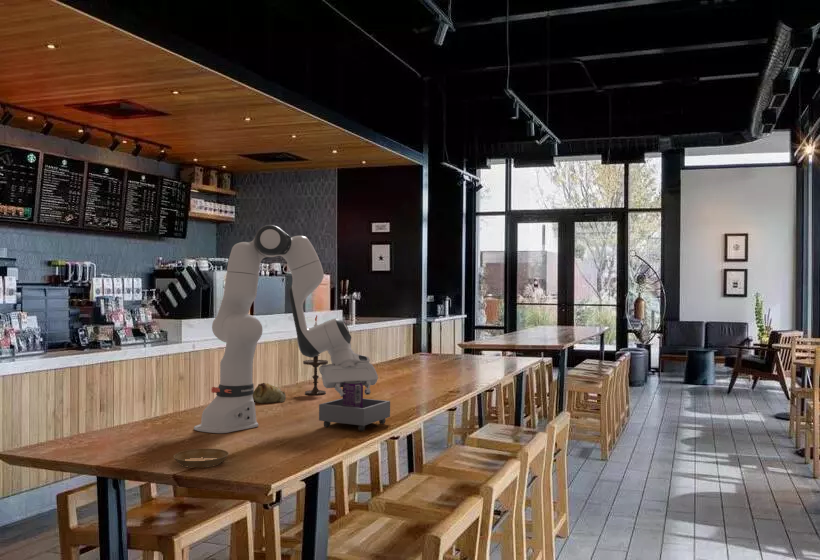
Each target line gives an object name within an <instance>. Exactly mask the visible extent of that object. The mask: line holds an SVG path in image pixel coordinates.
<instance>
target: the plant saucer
mask: <svg viewBox="0 0 820 560" xmlns="http://www.w3.org/2000/svg"><path fill="white" fill-rule="evenodd" d="M228 456H229V451H227V450H224V449H222V448H221V449H220V448H209V447H208V448H194V449H186V450H182V451H179V452H177V453H175V454H174V455H173V458H174V460H175V461H176V462H177V463H178V464H179V465H180V464H181V465H180V466H182V465H183V466H182V467H184V466H188V467H187V468H189V467H205V468H208V467H207V466H212V467H214V466H213V465H216V466H218V465H221V462H222V463H223V461H225V460H226V459H227V457H228ZM201 457H203V459H204V458H217V459H213V460H205V461H185V459H190V458H201ZM217 464H218V465H217Z"/></svg>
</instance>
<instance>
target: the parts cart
mask: <svg viewBox="0 0 820 560" xmlns="http://www.w3.org/2000/svg"><path fill="white" fill-rule="evenodd" d="M388 418H391V400H383V399H372V398H363V408H356V407H346V406H343V397H340V398H338V399H335V400H330V401H327V402H322V403H319V404H318V421H321V422H323V427H324V428H330V426H331V423H336V424H337V423H338V424H343V425H345V424H347V425H354V426H358V429H357V430H358V432H364V431H365V430H366V426H367V425H370V424H373V423H376V422H379V424H380V425H385V424H386V419H388Z"/></svg>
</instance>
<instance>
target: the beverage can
mask: <svg viewBox="0 0 820 560" xmlns="http://www.w3.org/2000/svg"><path fill="white" fill-rule="evenodd" d="M342 390H344V392H345V396H344V397H342V398H343V406H346V407H356V408H363V399H364V386H362V381H355V382H344V385H343V387H342Z"/></svg>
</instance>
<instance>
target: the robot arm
mask: <svg viewBox="0 0 820 560" xmlns="http://www.w3.org/2000/svg"><path fill="white" fill-rule="evenodd" d="M276 257H282V258H283V259H284V260H285V262H286V263H287V266H288V268H289V271H290V274H291V276H292V282H291V286H290V287H289V288H288V296H289V302H290V308H291V312H292V317H293V323H294V326H295V331H296V341H297V348H298V350H299V351H300V353H301V355H303V356H305V357H308V358H312V359H313V357H315V356H317V355H321V353H324V352H326V351H327V352H328V354H329V356H330V362H331V363H328V364H324V365H320V366H319V367H318V370H319V374H321V380H322V381H321V382H322V386H323V387H324V388H325V389H334V390H335V391H336V392H337V393H338V394H339V396H340V398H343V397H344V396H345V392H344V390H343V385H344V382H355V381H362V386H363V387H365V388H364V390H363V393H364V395H367V396H368V395H371V389H370V388H371V386H375V385H376V384H377V382H378V380H379V376H378V375H379V374H378V373H377V370H376V368H375V366H374V365H373V364H372V363H371V362H370V361H371V359H370V357H369V356H367V355H362V354H359V353H356V352H354V350H353V349H352V343H351V341H352V336H351V333H350V330H349V327H348V325H347V323H346V321H344V320H343V319H341V318H338V317H335V318H332V319H330V320H326V321H324V322H323V323H319V324H317V326H315V327H314V326H312V327H308V324H307V321H306V317H305V313H304V312H305V311H304V303H305V300H306V299H307V298H308V297H309V296H310V295H311V294H312V293H313V292H314V291H315V290H316V289H317V288H319V287H320V285H321V284H322V282H323V279H324V269H323V265H322V263H321V260H320V258H319V256H318V253H317V251H316V250H315V247H314V245H313V244H312V242H311V241H310V239H309V238H308V237H307V236H304V235H294V236H292V237H291V235H289V234H288V233H287V232H285V231H284V230H283V229H282V228H281V227H279V226H277V225H274V224H266V225H263V226H261V227H260V228H258V230H257V231H256V232H255V235H254V238H253V239H252V240H251V241H240V242H238V243H235V244H234V245H233V246H232V247H231V251H230V254H229V257H228V260H227V261H228V263H227V268H226V274H225V275H226V276H225V283H224V292H223V297H222V300H221V303H220V306H219V310H218V312H217V315H216V316H215V317H214V320H213V322H212V325H211V331H212V332H213V335H214V336H215V337H216V338H217V339H218V340H220V341H221V342H223V343H225V344H226V345H225V350H224V354H223V356H222V358H221V360H220V365H219V366H220V367H219V368H220V369H219V374H220V375H219V385H218V386H217V387H216V386H212V387H211V390H210V392H211V393H212V394H214V393H215V395H216V396H215V397H214V398H213V400H211V402H210V403H209V404H208V405H207V406H206V407H205V408H204V409H203V410H202V413H201V420H200V421H201V422H200V423H199V424H197V425H194V426H193V430H194V431H198V432H203V433H210V434H212V433H213V434H227V433H231V432H232V433H233V432H237V431H242V430H248V429H252V428H253V429H254V428H257V427H259V422H258V421H257V414H256V413H257V412H256V402H254V400H253V393H254V390H255V384H254V383H253V375H254V374H253V372H254V371H253V370H254V369H253V368H254V367H253V365H254V357H255V352H256V348H257V344H258V343H259V340H261V338H262V335H263V325H262V323H261V321H260V320H259V319H258V318H256V317H255V316H254V315H251V314H250V310H251V307H252V305H253V303H254V301H255V300H256V298H257V294H258V293H257V292H258V284H259V276H260V267H261V262H262V261H263V260H266V259H272V258H276Z"/></svg>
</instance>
